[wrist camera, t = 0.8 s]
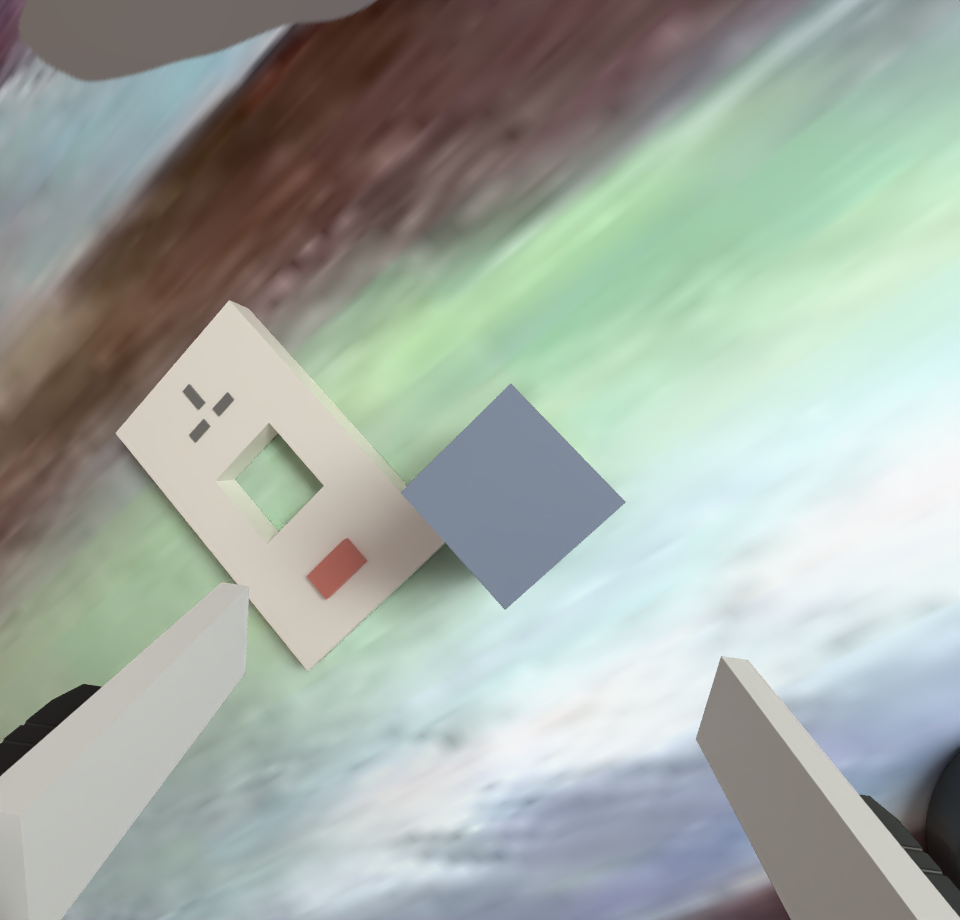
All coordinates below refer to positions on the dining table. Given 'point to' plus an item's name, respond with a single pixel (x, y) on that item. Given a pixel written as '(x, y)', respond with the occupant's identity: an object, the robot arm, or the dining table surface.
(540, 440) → the plug
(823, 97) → the dining table surface
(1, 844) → the robot arm
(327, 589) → the socket plate
